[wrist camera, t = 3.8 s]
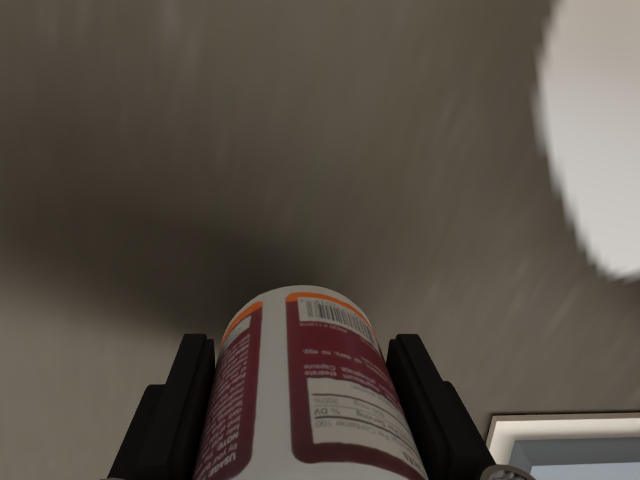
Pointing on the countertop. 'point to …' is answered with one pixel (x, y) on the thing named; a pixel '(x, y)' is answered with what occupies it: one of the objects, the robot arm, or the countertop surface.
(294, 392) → the pill bottle
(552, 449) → the square tray
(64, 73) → the countertop surface
